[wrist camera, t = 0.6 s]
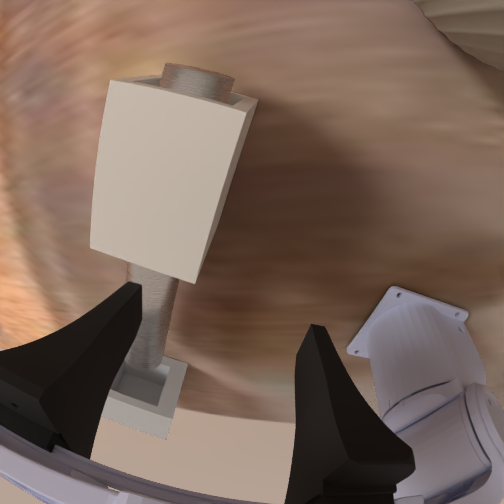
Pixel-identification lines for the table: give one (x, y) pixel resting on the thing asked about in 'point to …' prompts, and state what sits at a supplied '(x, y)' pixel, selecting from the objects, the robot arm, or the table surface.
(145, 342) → the tube
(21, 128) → the table surface
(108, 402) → the socket
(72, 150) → the table surface
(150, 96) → the sleeve
